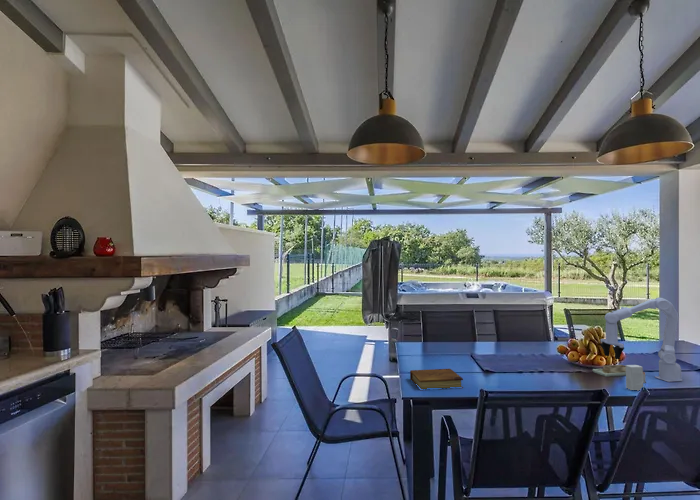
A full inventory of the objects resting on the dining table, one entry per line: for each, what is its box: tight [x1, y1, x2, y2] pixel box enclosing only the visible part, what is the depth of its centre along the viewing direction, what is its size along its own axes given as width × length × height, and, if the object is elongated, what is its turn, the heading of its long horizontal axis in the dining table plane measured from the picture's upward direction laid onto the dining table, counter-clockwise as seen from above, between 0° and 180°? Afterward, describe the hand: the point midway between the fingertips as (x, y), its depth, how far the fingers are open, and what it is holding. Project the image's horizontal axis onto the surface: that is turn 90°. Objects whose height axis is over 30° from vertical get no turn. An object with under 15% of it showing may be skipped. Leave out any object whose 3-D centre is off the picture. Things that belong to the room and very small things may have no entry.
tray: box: [592, 368, 626, 378], centre depth 228 cm, size 20×10×2 cm, turn 98°
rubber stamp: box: [643, 371, 647, 384], centre depth 212 cm, size 3×4×5 cm, turn 8°
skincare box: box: [625, 364, 644, 392], centre depth 200 cm, size 6×4×12 cm
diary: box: [409, 368, 464, 389], centre depth 213 cm, size 23×19×6 cm
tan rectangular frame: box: [601, 364, 626, 373], centre depth 228 cm, size 14×5×3 cm, turn 98°
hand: (612, 357), depth 228 cm, fingers open, 7 cm apart
